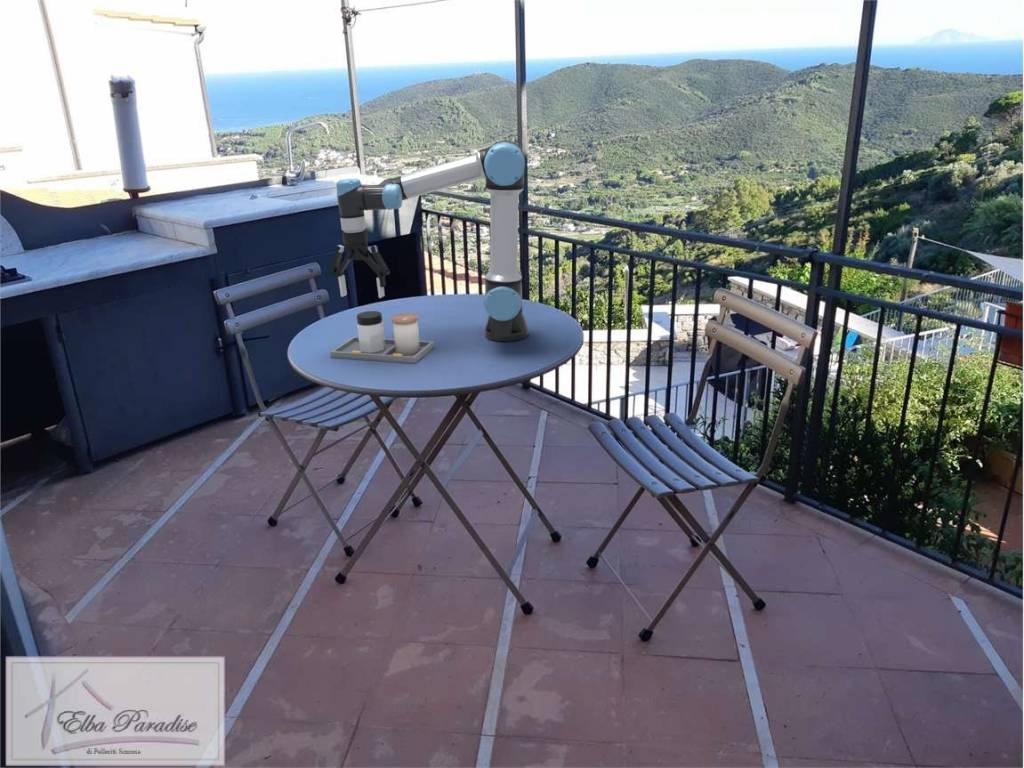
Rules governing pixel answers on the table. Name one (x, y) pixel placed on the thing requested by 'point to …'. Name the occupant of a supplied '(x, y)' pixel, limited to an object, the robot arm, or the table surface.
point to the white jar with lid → (406, 334)
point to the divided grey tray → (388, 355)
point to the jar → (370, 331)
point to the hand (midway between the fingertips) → (362, 296)
